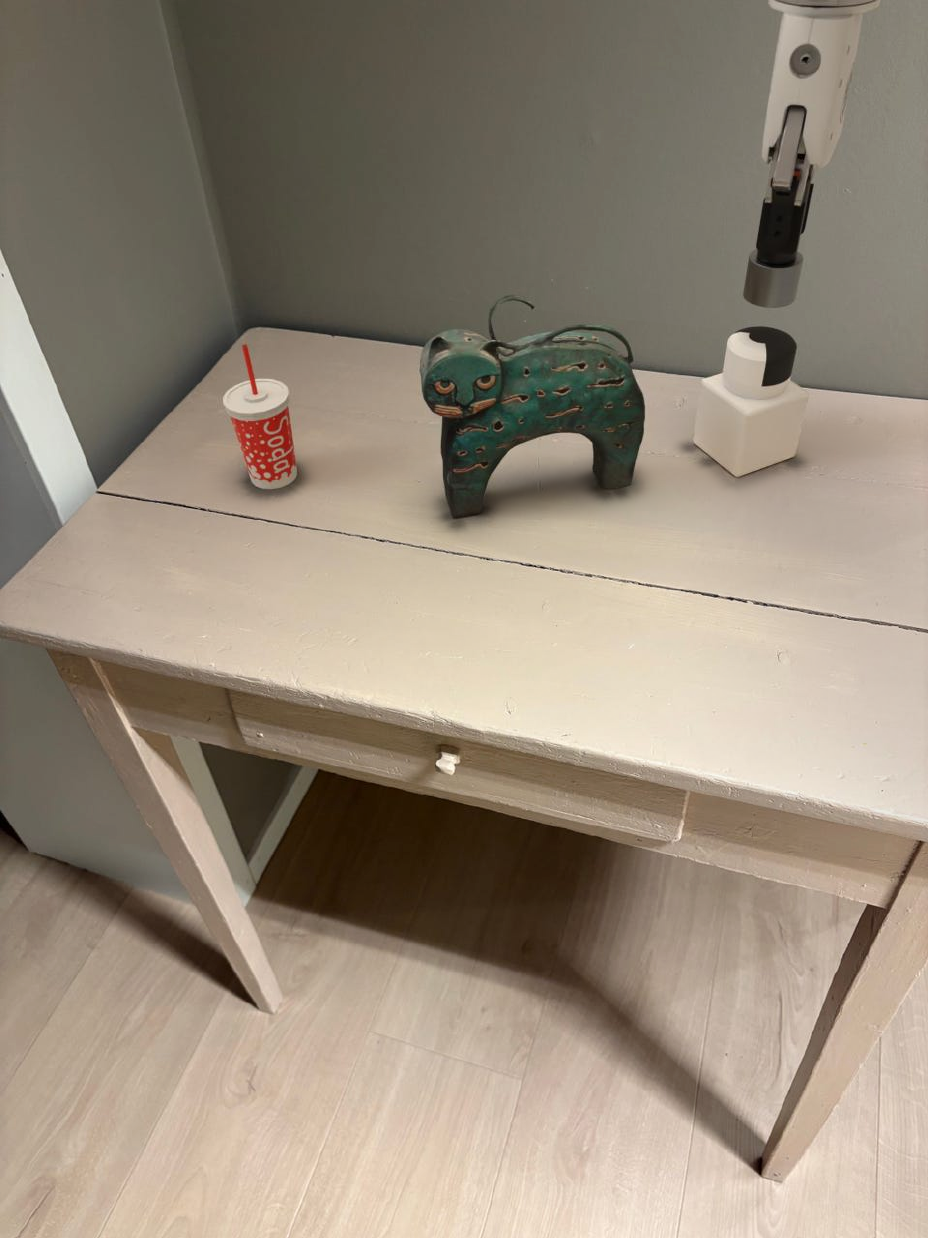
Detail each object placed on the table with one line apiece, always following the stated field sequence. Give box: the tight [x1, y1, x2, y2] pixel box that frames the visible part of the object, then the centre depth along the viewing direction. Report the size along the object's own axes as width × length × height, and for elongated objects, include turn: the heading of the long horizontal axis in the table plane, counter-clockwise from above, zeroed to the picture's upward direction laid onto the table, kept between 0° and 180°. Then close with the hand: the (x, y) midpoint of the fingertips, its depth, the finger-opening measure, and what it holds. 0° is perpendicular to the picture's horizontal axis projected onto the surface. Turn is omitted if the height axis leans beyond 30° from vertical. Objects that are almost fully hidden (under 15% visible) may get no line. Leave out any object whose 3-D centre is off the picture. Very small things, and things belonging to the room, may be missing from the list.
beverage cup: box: [222, 344, 298, 490], centre depth 90 cm, size 6×6×14 cm
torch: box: [742, 171, 813, 309], centre depth 79 cm, size 4×4×10 cm
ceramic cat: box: [419, 294, 646, 519], centre depth 84 cm, size 20×6×20 cm, turn 102°
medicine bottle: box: [692, 325, 810, 478], centre depth 89 cm, size 7×7×12 cm
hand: (780, 238), depth 79 cm, fingers closed on torch, 3 cm apart
